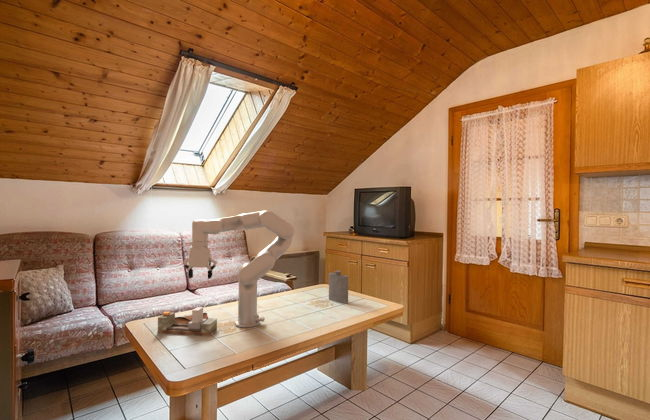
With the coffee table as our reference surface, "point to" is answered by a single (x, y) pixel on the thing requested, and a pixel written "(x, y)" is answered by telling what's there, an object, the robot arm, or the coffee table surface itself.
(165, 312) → the orange block
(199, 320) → the carriage
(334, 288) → the hip flask
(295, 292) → the coffee table surface
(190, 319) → the sunglasses case
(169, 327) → the rail bed
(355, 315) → the coffee table surface
